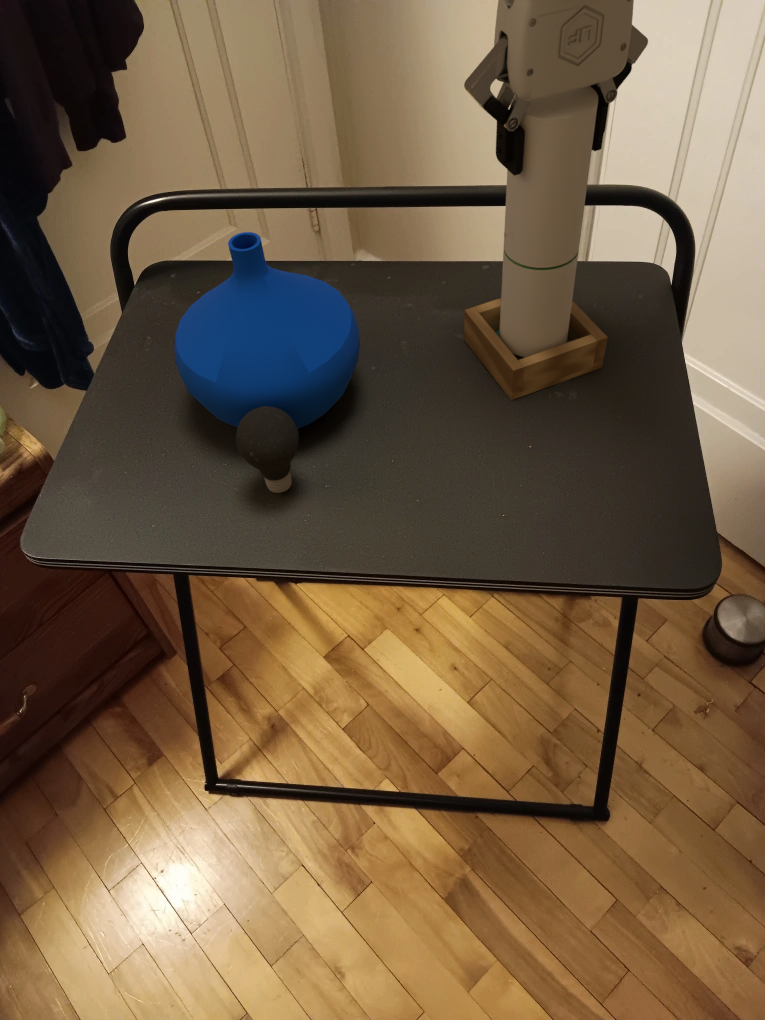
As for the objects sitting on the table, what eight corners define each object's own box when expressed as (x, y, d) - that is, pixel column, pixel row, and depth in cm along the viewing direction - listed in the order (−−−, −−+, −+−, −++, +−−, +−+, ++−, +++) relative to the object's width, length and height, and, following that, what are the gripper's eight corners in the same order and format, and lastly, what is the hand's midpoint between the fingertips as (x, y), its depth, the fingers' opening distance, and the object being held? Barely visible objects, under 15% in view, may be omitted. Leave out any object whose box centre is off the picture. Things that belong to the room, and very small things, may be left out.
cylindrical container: (566, 314, 90) (595, 77, 70) (568, 358, 85) (601, 118, 66) (499, 314, 91) (510, 79, 71) (498, 357, 86) (510, 120, 67)
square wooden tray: (549, 310, 94) (552, 280, 91) (602, 367, 88) (607, 337, 84) (463, 339, 92) (464, 309, 89) (511, 400, 86) (513, 370, 82)
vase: (200, 350, 94) (152, 196, 79) (360, 334, 94) (342, 176, 79) (188, 471, 82) (129, 317, 68) (371, 452, 82) (352, 294, 67)
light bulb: (252, 470, 82) (230, 396, 74) (308, 463, 82) (292, 389, 74) (251, 514, 78) (229, 442, 71) (310, 507, 78) (294, 434, 71)
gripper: (486, -42, 55) (480, 203, 68) (707, -96, 58) (659, 148, 72) (437, -73, 59) (441, 163, 73) (645, -122, 62) (611, 113, 76)
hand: (549, 154), depth 72 cm, fingers closed on cylindrical container, 7 cm apart
